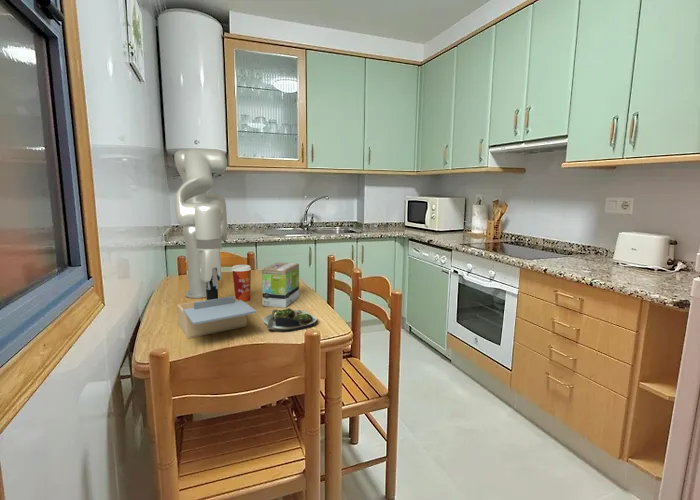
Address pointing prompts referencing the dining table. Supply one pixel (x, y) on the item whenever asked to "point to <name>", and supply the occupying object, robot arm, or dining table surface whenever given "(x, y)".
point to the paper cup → (242, 282)
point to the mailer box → (207, 323)
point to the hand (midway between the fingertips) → (212, 300)
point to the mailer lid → (217, 310)
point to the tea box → (280, 284)
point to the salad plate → (289, 320)
